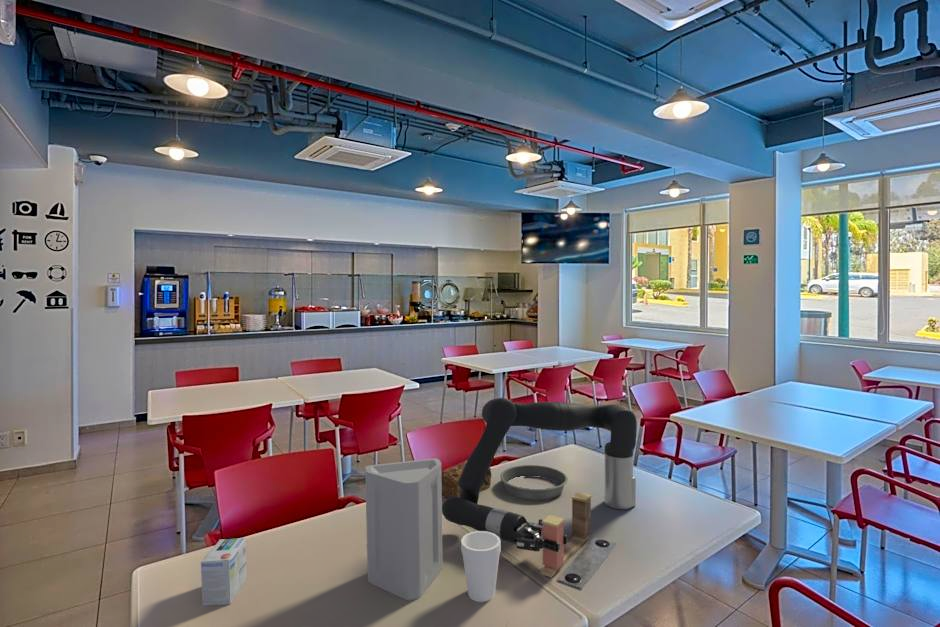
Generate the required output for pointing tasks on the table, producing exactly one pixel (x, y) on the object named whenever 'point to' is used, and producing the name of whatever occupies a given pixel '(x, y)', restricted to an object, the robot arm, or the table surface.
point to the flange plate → (587, 562)
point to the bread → (452, 478)
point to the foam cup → (481, 563)
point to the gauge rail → (570, 544)
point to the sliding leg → (554, 532)
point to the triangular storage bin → (404, 526)
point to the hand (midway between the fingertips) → (562, 543)
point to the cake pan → (534, 471)
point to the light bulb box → (223, 572)
